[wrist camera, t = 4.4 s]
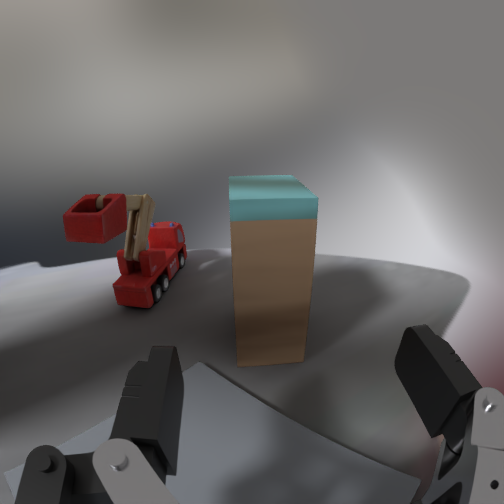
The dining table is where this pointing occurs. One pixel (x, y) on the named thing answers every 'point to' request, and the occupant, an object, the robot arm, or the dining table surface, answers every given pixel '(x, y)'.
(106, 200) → the toy fire truck
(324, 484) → the grey mat
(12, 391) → the dining table surface
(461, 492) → the robot arm
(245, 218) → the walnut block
